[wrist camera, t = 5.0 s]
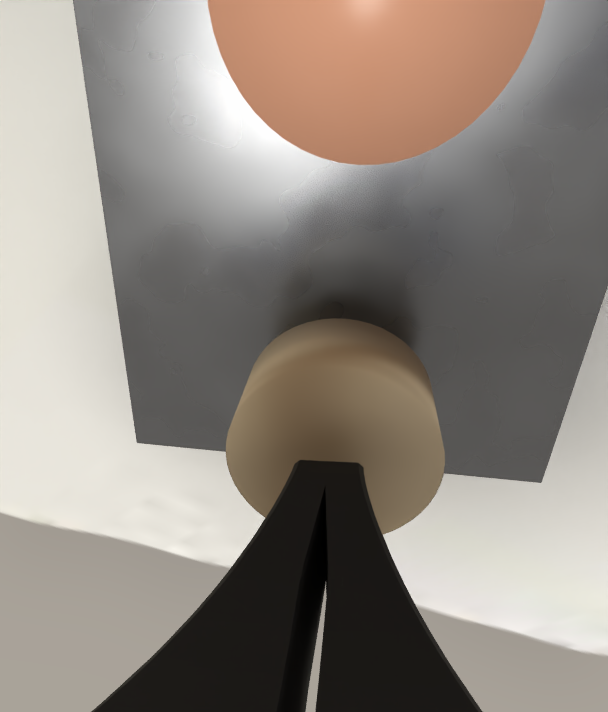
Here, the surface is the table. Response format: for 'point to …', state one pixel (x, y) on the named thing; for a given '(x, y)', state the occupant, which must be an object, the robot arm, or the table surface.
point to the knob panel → (351, 234)
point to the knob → (339, 417)
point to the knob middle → (372, 68)
